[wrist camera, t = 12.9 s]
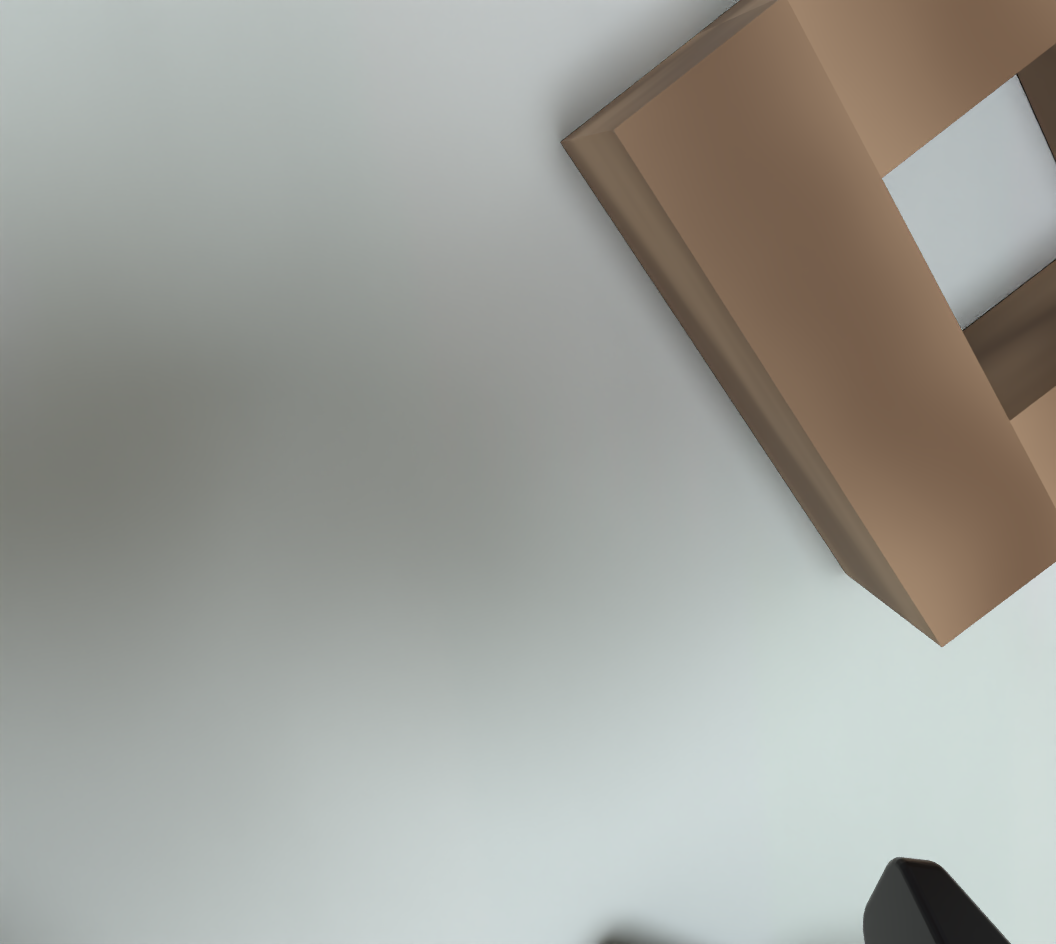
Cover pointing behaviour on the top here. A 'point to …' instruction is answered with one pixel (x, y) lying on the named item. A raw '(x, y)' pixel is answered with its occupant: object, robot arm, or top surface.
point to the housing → (850, 280)
